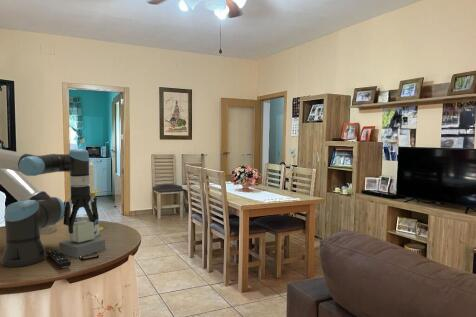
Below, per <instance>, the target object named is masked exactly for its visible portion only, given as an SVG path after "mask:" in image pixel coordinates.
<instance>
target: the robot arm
mask: <svg viewBox="0 0 476 317" xmlns="http://www.w3.org/2000/svg"><path fill="white" fill-rule="evenodd" d="M89 164H90V156H89V151H88V150H87V149H70V150H69V151H68V153H67V154H65V153H64V154H60V153H57V154H56V153H49V154H44V155H42V154H41V155H36V154H30V153H24V152H18V151H14V150H8V149H3V147H2V144H1V143H0V186H2V187H3V188H4V189H5V190H6V191H7V192H8V193H9V194H10V195H11V196H12V197H13V198H14V199H15V200H16V202H13V203H10V204H8V205H7V206H6V207H5V208H4V215H3V216H4V217H3V218H4V225H5V226H4V228H5V247H4V250H3V253H2V257H1V265H2V266H3V267H7V268H17V267H18V268H19V267H24V266H29V265H30V266H31V265H35V264H37V263H40V262H42V261H43V260H45V259H46V258H47V256H46V255H47V252H46V249H45V247H44V245H43V242H42V240H41V234H40V229H42V228H45V227H47V226H50V225H54V224H56V225H57V223H59V222H60V221H61V220H63V225H64V226H67V227H68V233H69V235H70V234H71V240H72V241H76V233H75V225H73V224H74V221H75V218H76V215H78V211H79V210H80V208H83V209H84V211H85V214H87V216H88V218H89V220H90V221H89V222H93V223H94V222H95V221H96V219H98V218H99V217H98V216H99V213H98V204H97V200H98V198H97V197H96V196H95V197H91V196H90V170H89ZM59 172H60V173H61V172H62V173H63V172H66V173H69V175H70V180H69V182H70V196H71V197H70V199H69V200H67V201H66V200H64V201H63V200H62V199H61V198H59V197H56V196H50V195H49V194H48V192H47V191H44V190H41V191H40V190H38V189H37V188H36V186H34V185H33V184H32V182H30V181H29V180H28V179H27V178H26V177H25V176H28V177H30V176H31V177H32V176H33V177H34V176H39V175H45V174H46V175H47V174H52V173H59ZM90 201H91V207H92V212H91V210H90ZM71 206H72V208H71ZM92 213H93V214H92Z"/></svg>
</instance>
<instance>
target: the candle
mask: <svg viewBox="0 0 476 317" xmlns="http://www.w3.org/2000/svg"><path fill="white" fill-rule="evenodd" d="M94 168H95V166H94V163H93V161H92V160H90V162H89V178H90V184H89V186H90V196H91V197H96V194H100V193H101V192H102V191H101V190H95V169H94ZM89 206H90V210H91V212H92V207H91V201H89ZM92 214H93V213H92ZM101 231H104V227H103V226H99V232H101Z"/></svg>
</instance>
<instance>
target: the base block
mask: <svg viewBox="0 0 476 317" xmlns="http://www.w3.org/2000/svg"><path fill="white" fill-rule="evenodd" d="M58 245H59V246H58V247H59V253H60V252H61V253H62V254H61V253H60V254H61V255H65V256H68V257H71V258H75V259H78V260H79V259H80V258H79V257H80V256H81V255H85V254H88V253H92V252H97V253H100V252H103V251H105V250H106V239H105V238H101V237H98V236H96V237H94V239H91V240H87V241H83V242H79V243H78V242H75V241H72V240H70V239H67V240H64V241H60V242H58Z"/></svg>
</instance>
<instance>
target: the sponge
mask: <svg viewBox="0 0 476 317" xmlns="http://www.w3.org/2000/svg"><path fill="white" fill-rule="evenodd" d="M57 230H58V229H57V223H56V224H54V225H50V226H47V227H45V228H42V229H40V235H47V234H52V233H56V232H57Z"/></svg>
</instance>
